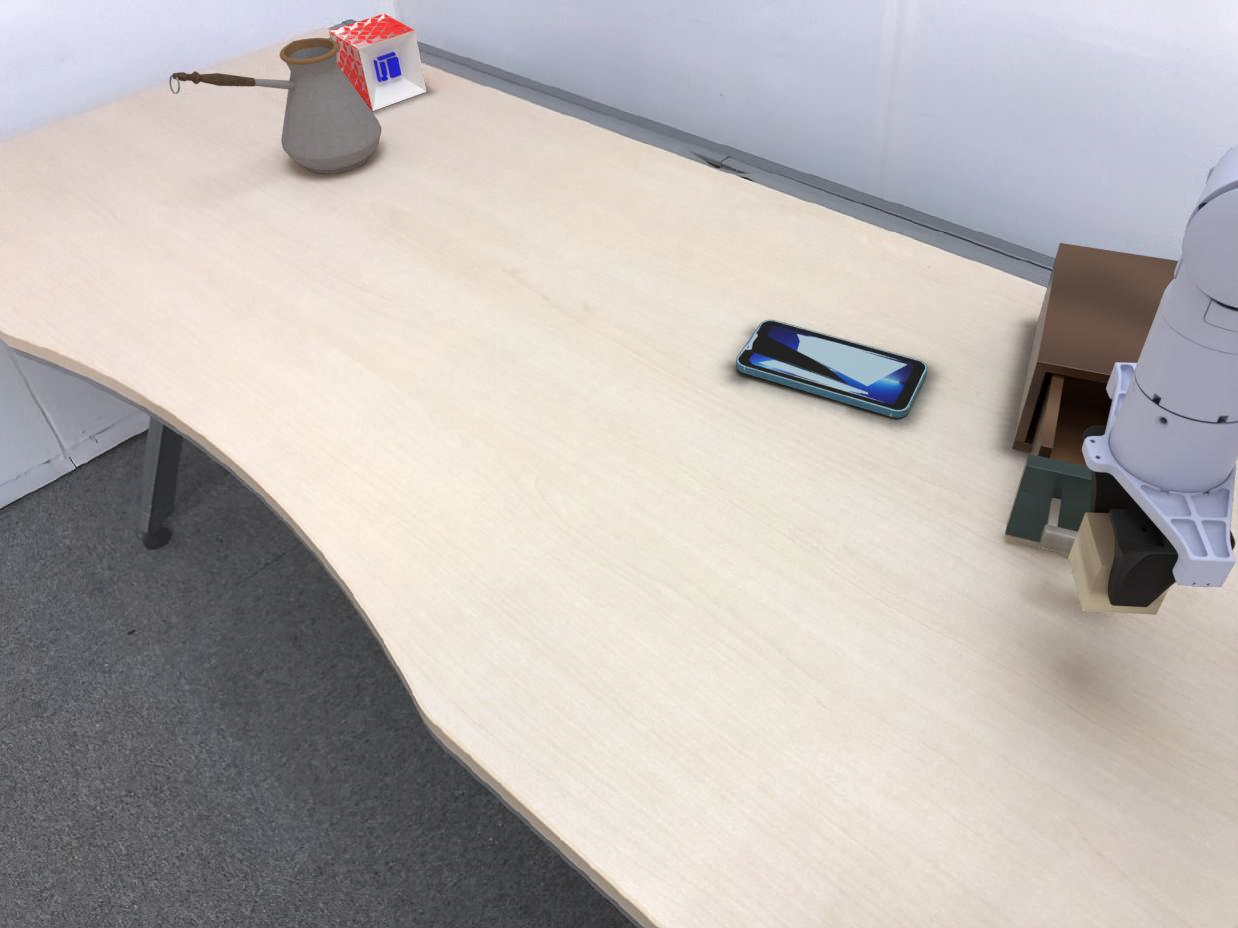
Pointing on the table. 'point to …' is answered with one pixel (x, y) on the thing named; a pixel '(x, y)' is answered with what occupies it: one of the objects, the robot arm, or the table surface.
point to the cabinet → (1090, 320)
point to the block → (1099, 566)
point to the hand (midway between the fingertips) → (1118, 569)
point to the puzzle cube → (380, 60)
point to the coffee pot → (314, 108)
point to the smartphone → (833, 367)
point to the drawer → (1058, 464)
